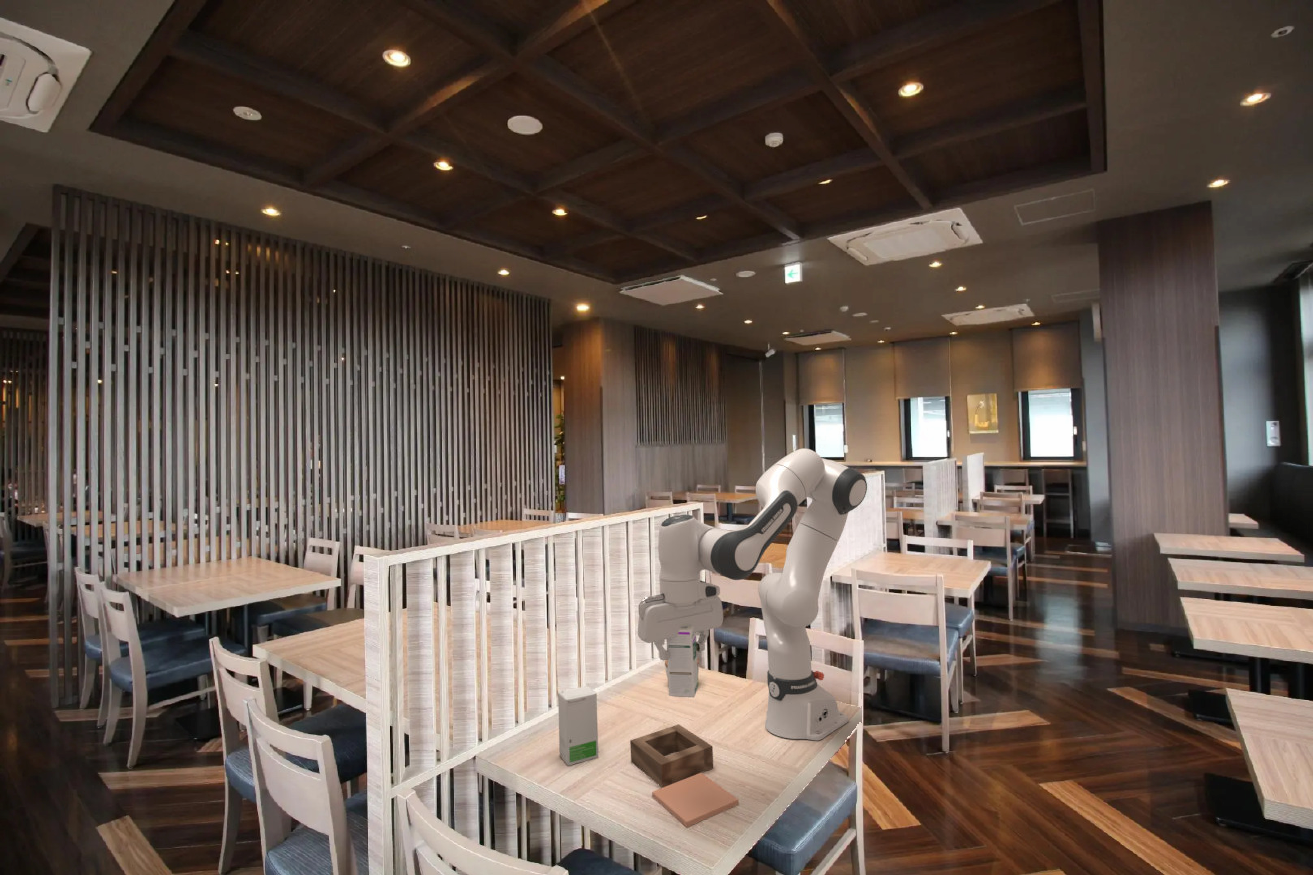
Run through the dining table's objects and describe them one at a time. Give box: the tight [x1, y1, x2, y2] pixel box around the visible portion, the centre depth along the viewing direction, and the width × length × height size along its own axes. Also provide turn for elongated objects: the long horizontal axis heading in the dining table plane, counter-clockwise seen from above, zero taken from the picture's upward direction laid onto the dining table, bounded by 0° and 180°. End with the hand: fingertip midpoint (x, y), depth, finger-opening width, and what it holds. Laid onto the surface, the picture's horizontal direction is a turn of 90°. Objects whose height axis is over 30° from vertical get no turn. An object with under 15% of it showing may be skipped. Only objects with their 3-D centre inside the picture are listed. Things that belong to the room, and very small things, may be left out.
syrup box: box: [666, 626, 699, 698], centre depth 131 cm, size 6×6×14 cm
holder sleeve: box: [629, 724, 714, 788], centre depth 142 cm, size 14×14×5 cm
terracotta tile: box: [651, 772, 739, 828], centre depth 127 cm, size 13×13×1 cm
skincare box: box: [557, 685, 599, 766], centre depth 148 cm, size 8×7×16 cm
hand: (682, 654), depth 131 cm, fingers closed on syrup box, 8 cm apart
